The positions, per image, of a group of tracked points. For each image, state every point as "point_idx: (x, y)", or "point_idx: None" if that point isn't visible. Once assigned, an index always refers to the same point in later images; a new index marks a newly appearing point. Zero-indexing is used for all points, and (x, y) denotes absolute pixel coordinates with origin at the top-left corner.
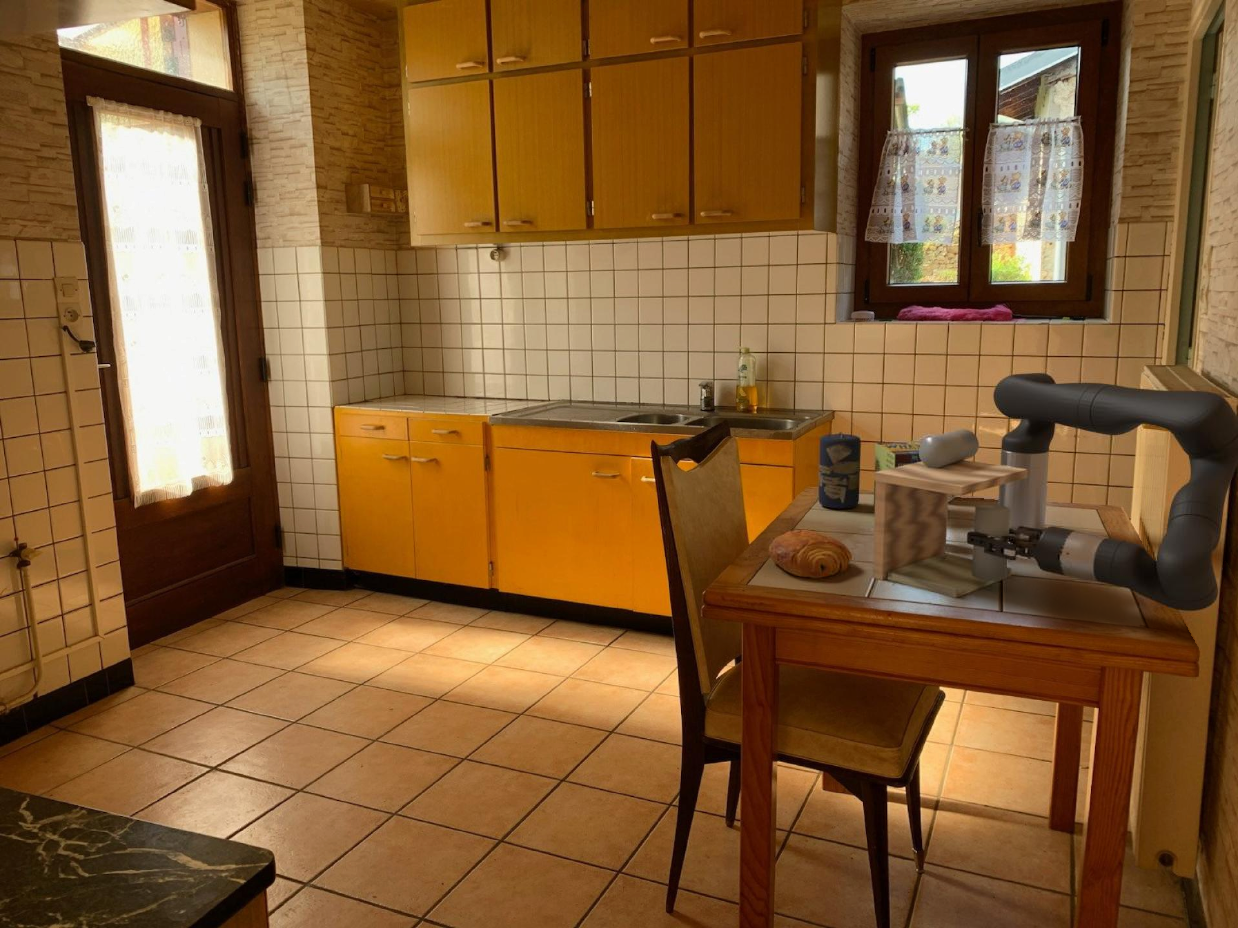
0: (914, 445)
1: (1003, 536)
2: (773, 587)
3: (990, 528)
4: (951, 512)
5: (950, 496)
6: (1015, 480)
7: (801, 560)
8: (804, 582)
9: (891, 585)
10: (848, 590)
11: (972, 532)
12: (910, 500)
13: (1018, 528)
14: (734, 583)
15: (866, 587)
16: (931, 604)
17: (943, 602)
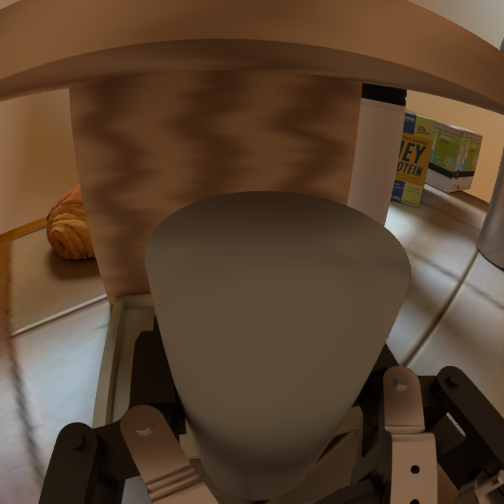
0: (418, 113)
1: (151, 499)
2: (10, 255)
3: (175, 380)
4: (444, 203)
5: (454, 187)
6: None
7: (47, 226)
8: (40, 260)
9: (91, 329)
10: (30, 304)
11: (153, 330)
12: (186, 139)
13: (435, 381)
14: (11, 234)
15: (57, 311)
16: (26, 435)
17: (51, 450)
